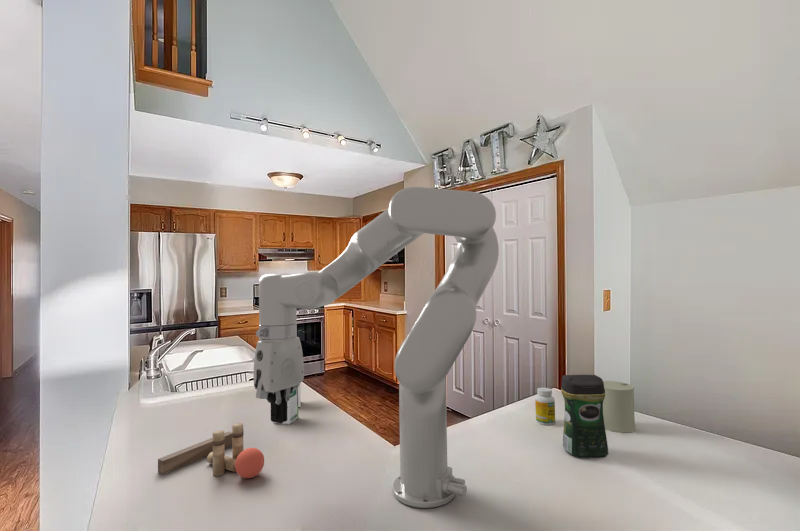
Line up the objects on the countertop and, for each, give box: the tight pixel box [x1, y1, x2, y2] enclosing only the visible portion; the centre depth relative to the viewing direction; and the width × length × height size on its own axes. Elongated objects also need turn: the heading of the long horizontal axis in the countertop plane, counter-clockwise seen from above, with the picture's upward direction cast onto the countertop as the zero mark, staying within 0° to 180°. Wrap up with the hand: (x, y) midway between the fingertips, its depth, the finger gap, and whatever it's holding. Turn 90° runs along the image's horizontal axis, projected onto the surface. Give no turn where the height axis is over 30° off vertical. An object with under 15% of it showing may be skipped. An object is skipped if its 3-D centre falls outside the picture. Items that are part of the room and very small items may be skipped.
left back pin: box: [212, 429, 226, 477], centre depth 89 cm, size 2×2×9 cm
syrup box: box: [272, 387, 299, 425], centre depth 121 cm, size 6×6×14 cm
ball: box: [235, 447, 265, 479], centre depth 87 cm, size 6×6×6 cm
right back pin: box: [231, 422, 245, 459], centre depth 93 cm, size 2×2×9 cm
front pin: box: [206, 452, 237, 473], centre depth 91 cm, size 2×2×9 cm
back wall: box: [157, 431, 232, 475], centre depth 97 cm, size 2×18×3 cm, turn 150°
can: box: [603, 380, 637, 434], centre depth 112 cm, size 9×9×12 cm
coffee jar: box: [560, 374, 609, 459], centre depth 96 cm, size 10×8×19 cm
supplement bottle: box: [534, 387, 556, 426], centre depth 116 cm, size 5×5×10 cm
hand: (279, 421), depth 83 cm, fingers closed
